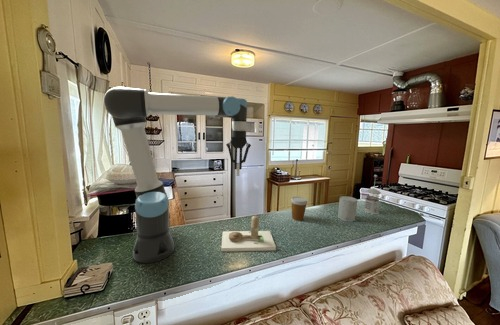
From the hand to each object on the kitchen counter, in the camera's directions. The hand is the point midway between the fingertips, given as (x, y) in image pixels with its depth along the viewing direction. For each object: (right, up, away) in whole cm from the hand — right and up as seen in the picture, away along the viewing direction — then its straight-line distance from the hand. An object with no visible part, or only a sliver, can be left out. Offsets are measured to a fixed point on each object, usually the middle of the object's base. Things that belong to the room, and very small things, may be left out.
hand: (237, 175), depth 106 cm
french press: (+86, -26, +26) cm, 94 cm away
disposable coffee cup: (+34, -26, +12) cm, 45 cm away
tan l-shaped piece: (+4, -27, -16) cm, 32 cm away
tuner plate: (+5, -29, -15) cm, 33 cm away
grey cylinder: (+64, -27, +14) cm, 71 cm away
